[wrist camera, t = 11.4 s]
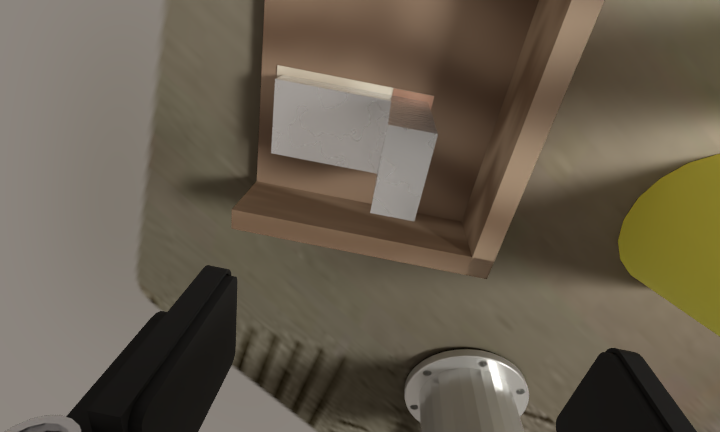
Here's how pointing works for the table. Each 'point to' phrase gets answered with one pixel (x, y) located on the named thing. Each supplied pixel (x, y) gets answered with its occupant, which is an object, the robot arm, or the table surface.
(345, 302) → the table surface
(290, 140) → the bracket
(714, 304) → the cone
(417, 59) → the tray
